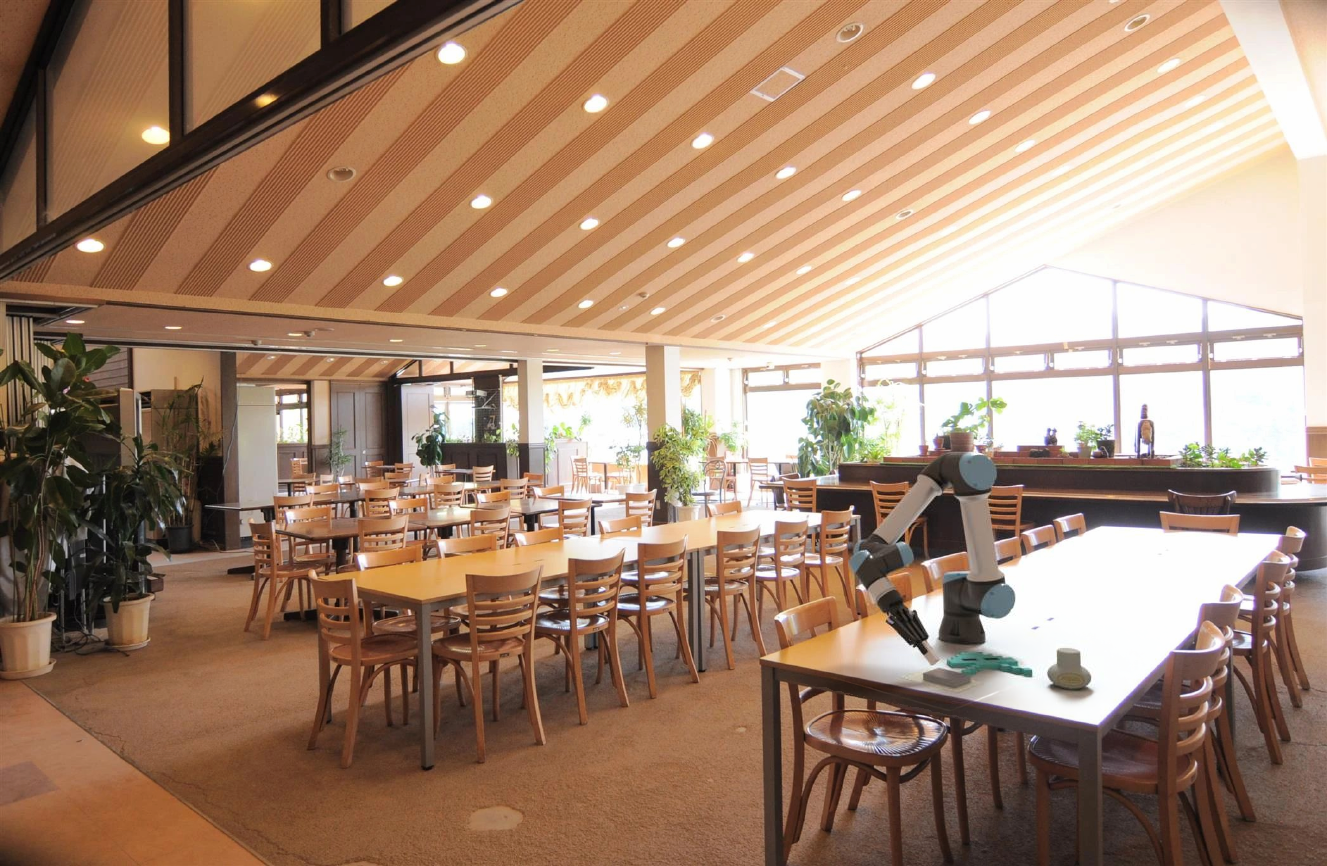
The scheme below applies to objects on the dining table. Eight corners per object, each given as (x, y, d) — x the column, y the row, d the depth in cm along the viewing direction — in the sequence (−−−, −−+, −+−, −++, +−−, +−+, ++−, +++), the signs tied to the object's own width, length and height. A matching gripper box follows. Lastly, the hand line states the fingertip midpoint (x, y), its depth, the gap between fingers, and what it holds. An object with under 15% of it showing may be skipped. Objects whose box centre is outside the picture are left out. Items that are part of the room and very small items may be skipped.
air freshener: (1048, 689, 225) (1048, 652, 225) (1046, 680, 233) (1045, 645, 233) (1093, 692, 221) (1092, 655, 221) (1089, 683, 229) (1088, 648, 229)
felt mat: (901, 678, 237) (901, 677, 237) (927, 670, 245) (927, 668, 245) (956, 693, 223) (956, 692, 223) (983, 684, 231) (983, 682, 231)
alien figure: (1032, 677, 237) (1001, 658, 257) (1032, 669, 237) (1001, 651, 257) (964, 679, 237) (938, 660, 257) (964, 671, 237) (938, 653, 257)
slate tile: (922, 673, 234) (954, 680, 226) (939, 667, 239) (970, 675, 231) (923, 680, 234) (954, 688, 226) (939, 674, 239) (970, 682, 231)
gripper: (892, 600, 254) (940, 665, 241) (865, 606, 246) (914, 674, 233) (906, 585, 250) (956, 651, 237) (879, 591, 242) (930, 659, 229)
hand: (935, 662), depth 235 cm, fingers closed
